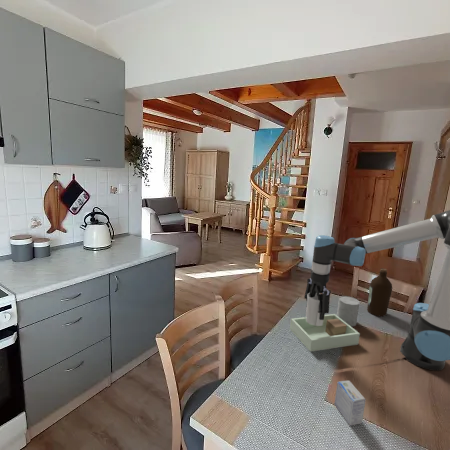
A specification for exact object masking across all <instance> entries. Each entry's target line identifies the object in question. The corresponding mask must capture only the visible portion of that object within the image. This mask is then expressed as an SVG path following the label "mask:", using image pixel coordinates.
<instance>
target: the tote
mask: <svg viewBox="0 0 450 450" xmlns="http://www.w3.org/2000/svg"><path fill="white" fill-rule="evenodd" d="M306 317H307V316H305V317H294V318H290V325H289V330H290V331H291V332H292V333H293V334H294V335H295V336H296V338H297V339H298V340H299V341H300V342H301V343H302V344H303V346H305V348H306V349H307V350H308V351H309V352H312V353H313V352H316V351H317V352H319V351H324V350H330V349H331V350H332V349H338V348H342V347H350V346H357V345H359V342H360V341H359V340H360V335H361V333H360V332H358V330H357V329H355V328H353V326H352V327H351V326H350V325H348V324H347V323H346V322H344V321H343V320H342V319H341V318H339V317H338V316H337V314H336V313H331V314H329V313H328V314H325V315H324V320H323V325H322V326H316V325H311V324H309V323H308V322H307V321H306ZM331 319H339V320H340V321H341V322H343V323H344V324H345V325H346V326H347V327H346V333H345V334H342V335H335V336H330V335H328V334H327V333H326V332H325V331H326V323H327V320H331Z"/></svg>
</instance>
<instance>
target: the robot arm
mask: <svg viewBox="0 0 450 450" xmlns="http://www.w3.org/2000/svg"><path fill="white" fill-rule="evenodd" d="M436 238H439V239H442V240H443V244H444V246H445V247H446V252H445V254H444V255H445V256H444V258H443V261H442V264H441V268H440V271H439V274H438V276H437V279H436V282H435V286H434V289H433V292H432V295H431V298H430V301H429V303H423V302H417V303H415V304H414V305H413V308H412V316H411V321H410V326H409V330H408V334H407V337H406V338H405V339H404V340H403V342H402V344H401V346H400V351H399V352H400V353H401V354H402V355H403V356H404V359H405V360H406V361H408V362H410V363H411V364H413V365H414V366H416V367H417V366H418V367H419V368H422V369H425V370H430V371H441V370H443V369H444V368H445V365H446V361H450V209H448V210H446V211H443V212H439V213H436V214H433V215H432V216H431V217H430V218H427V219H424V220H420V221H416V222H412V223H408V224H404V225H401V226H398V227H393V228H390V229H386V230H382V231H378V232H374V233H370V234H367V235H364V236H360V237H350V238H348V239H347V240H345V242H344V243H338V242H336V241H335V238H334V237H332V236H329V235H322V234H321V235H318V236H316V238H315V241H314V245H313V256H312V261H311V270H310V276H309V277H310V278H307V279H306V280H307V281H306V283H307V284H306V286H305V293H304V295H303V297H304V299H305V301H306V302H307V295H308V293H310V297H314V296H315V294H316V293H317V296H318V300H319V301H320V303H319V311H318V314H317V321H316V326H322V325H323V320H324V315H326V314H329V313H330V298H331V293H332V291H331V290H328V288H327V283H329V281H330V272H331V266H332V262H337V263H342V264H345V265H346V264H347V265H349V266H353V267H355V266H357V267H362V266H363V265H364V263H365V257H366V255H367V254H370V253H371V254H372V253H374V252H375V253H376V252H379V251H384V250H389V249H392V248H397V247H401V246H405V245H410V244H414V243H419V242H423V241H427V240H433V239H436ZM319 293H320V294H319ZM305 307H306V309H305V310H306V311H305V317H307V305H306V306H305Z"/></svg>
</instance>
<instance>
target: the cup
mask: <svg viewBox="0 0 450 450" xmlns="http://www.w3.org/2000/svg"><path fill="white" fill-rule="evenodd" d="M319 294H321V293H319ZM319 303H320V301H319V300H318V296H317V293H316V294H315V296H314V297H310V293H308V295H307V301H306V306H307V307H306V309H307V316H305V317H306V321H307V322H308V323H309V324H311V325H316V321H317V314H318V311H319Z"/></svg>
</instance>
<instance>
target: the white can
mask: <svg viewBox="0 0 450 450" xmlns="http://www.w3.org/2000/svg"><path fill="white" fill-rule="evenodd" d="M360 304H361V303H360V301H359V300H358V299H357V298H355V297H352V296H348V295H341V296H339V297H338V303H337V311H336V315H337V316H338V317H339V318H341V319H342V320H343V321H344V322H346V323H347V324H348V325H350V326H351V327H352V328H353V327H355V326H357V321H358V315H359V308H360Z"/></svg>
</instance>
